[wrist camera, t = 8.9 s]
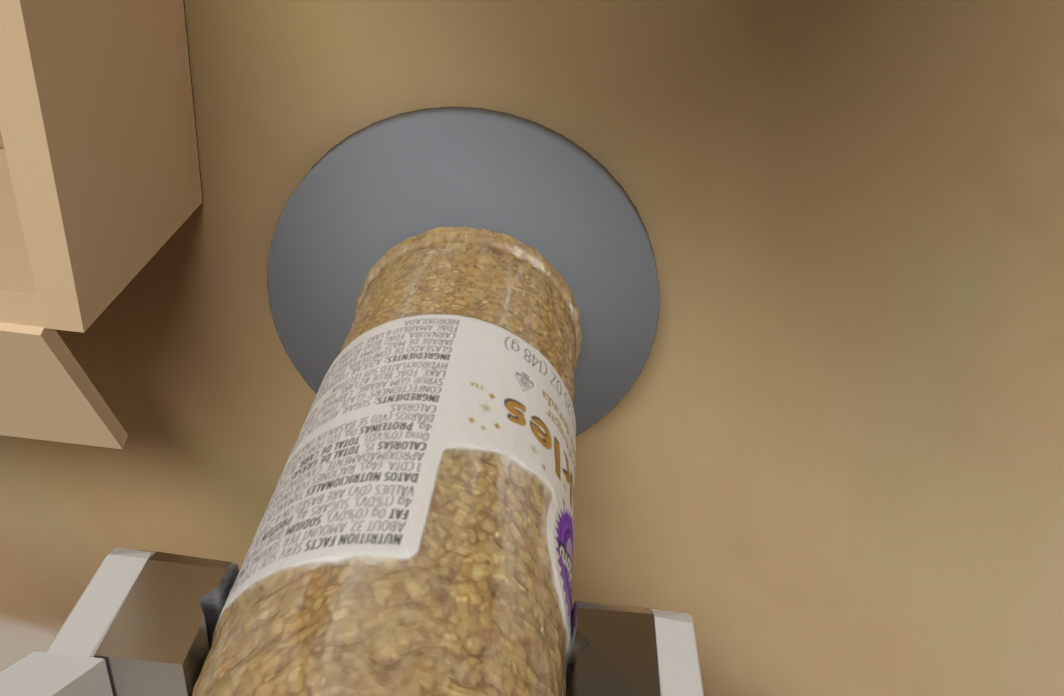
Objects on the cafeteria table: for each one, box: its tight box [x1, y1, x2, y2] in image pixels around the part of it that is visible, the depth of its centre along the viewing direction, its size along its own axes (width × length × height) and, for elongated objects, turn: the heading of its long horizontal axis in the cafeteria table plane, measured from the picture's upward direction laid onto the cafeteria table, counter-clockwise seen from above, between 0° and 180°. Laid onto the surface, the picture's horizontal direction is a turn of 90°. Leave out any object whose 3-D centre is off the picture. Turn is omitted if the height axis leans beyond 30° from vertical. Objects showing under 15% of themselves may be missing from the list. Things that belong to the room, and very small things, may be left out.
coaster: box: [267, 107, 659, 435], centre depth 18 cm, size 8×8×1 cm
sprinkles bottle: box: [192, 227, 582, 696], centre depth 12 cm, size 5×5×13 cm
